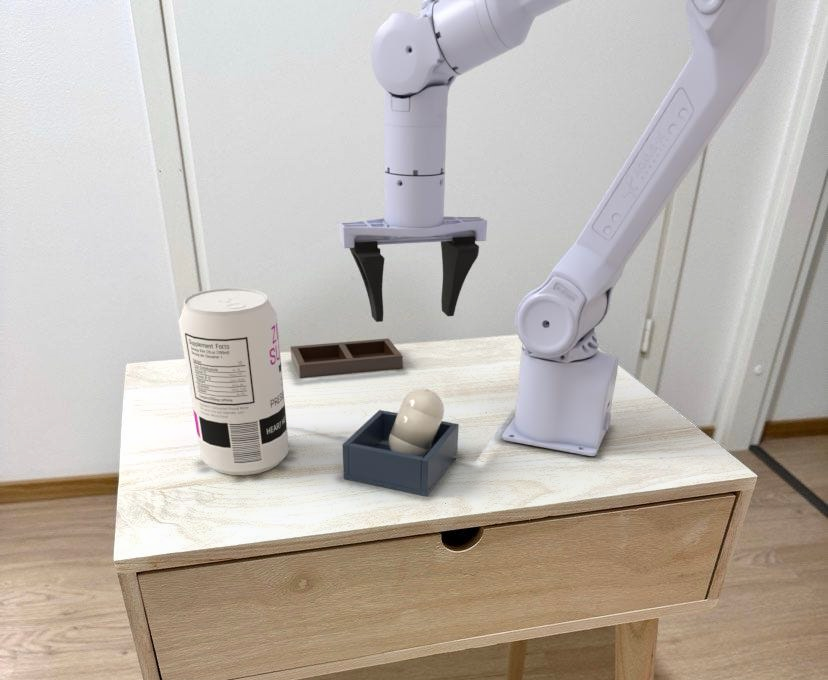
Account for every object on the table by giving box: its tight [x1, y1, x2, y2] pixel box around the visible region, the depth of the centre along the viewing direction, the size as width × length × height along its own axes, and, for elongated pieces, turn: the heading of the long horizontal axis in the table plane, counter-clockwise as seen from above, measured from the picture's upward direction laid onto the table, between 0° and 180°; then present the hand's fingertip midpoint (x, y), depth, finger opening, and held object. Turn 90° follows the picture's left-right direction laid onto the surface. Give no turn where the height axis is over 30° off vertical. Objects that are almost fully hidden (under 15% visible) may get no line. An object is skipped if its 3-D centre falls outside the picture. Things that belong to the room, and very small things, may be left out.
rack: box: [290, 337, 404, 379], centre depth 91 cm, size 7×12×2 cm, turn 106°
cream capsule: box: [388, 388, 445, 457], centre depth 70 cm, size 4×4×7 cm
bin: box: [341, 409, 460, 497], centre depth 70 cm, size 8×8×4 cm
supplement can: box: [178, 287, 289, 476], centre depth 68 cm, size 8×8×15 cm
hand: (412, 316), depth 79 cm, fingers open, 7 cm apart
